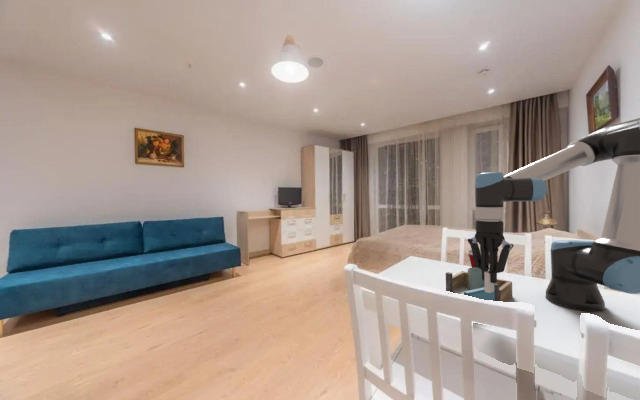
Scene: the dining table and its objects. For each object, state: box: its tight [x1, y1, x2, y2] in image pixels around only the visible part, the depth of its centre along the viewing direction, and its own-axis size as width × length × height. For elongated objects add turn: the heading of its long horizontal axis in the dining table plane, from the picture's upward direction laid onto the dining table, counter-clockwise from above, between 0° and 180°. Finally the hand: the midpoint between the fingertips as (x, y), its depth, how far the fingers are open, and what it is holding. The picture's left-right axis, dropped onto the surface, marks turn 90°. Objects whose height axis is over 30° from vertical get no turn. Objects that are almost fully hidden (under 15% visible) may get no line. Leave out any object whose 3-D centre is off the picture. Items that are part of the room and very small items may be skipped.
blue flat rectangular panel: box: [463, 287, 495, 301], centre depth 86 cm, size 14×1×7 cm, turn 109°
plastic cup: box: [466, 248, 481, 268], centre depth 122 cm, size 11×11×12 cm
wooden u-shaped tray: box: [445, 270, 513, 303], centre depth 99 cm, size 19×15×8 cm
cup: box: [467, 267, 489, 290], centre depth 99 cm, size 8×8×10 cm
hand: (489, 291), depth 79 cm, fingers closed
